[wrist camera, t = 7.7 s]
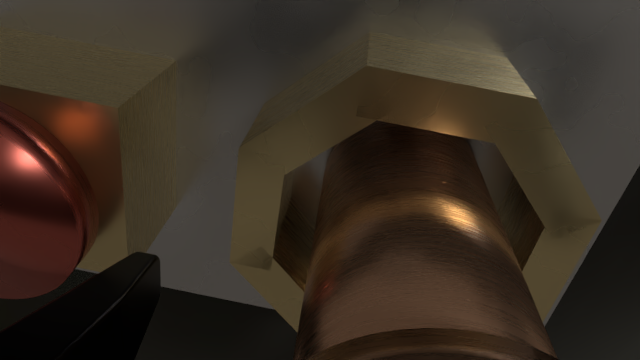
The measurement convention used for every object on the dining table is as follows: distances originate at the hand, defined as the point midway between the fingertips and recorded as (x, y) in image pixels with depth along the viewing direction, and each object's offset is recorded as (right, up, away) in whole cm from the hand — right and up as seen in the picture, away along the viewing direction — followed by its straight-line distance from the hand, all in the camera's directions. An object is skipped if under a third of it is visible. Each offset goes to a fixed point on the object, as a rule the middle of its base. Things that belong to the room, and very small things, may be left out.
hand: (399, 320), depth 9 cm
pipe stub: (+1, +2, +4) cm, 5 cm away
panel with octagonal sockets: (-2, +4, +5) cm, 6 cm away
